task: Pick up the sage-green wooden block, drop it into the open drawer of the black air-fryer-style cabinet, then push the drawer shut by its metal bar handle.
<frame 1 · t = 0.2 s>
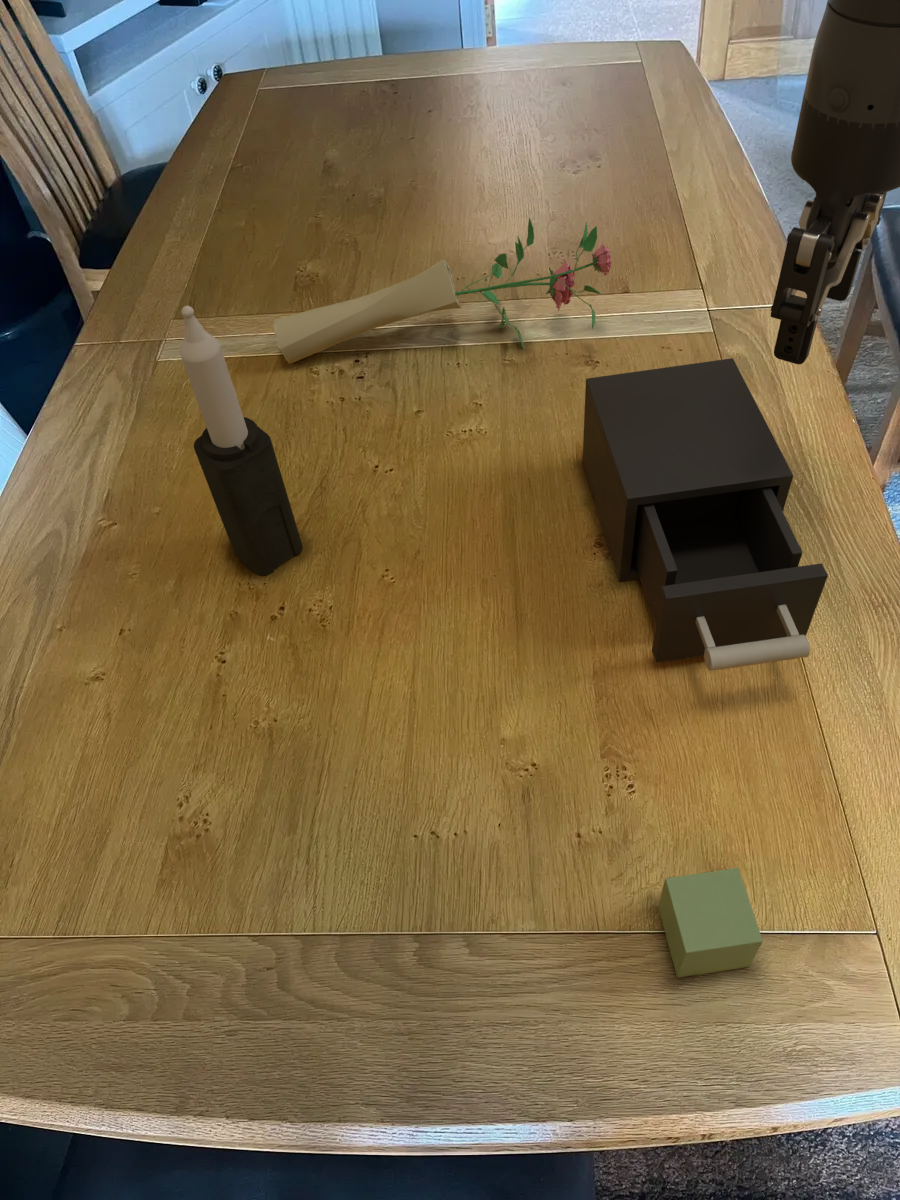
hand: (811, 326, 67), 19 cm above the table, tool pointing down, fingers open, 8 cm apart
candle: (268, 551, 84), on the table
block: (702, 935, 60), on the table
cabinet: (670, 509, 83), on the table
drawer: (719, 574, 72), point 5 cm above the table, slide at 8.0 cm
flower vase: (443, 343, 101), on the table
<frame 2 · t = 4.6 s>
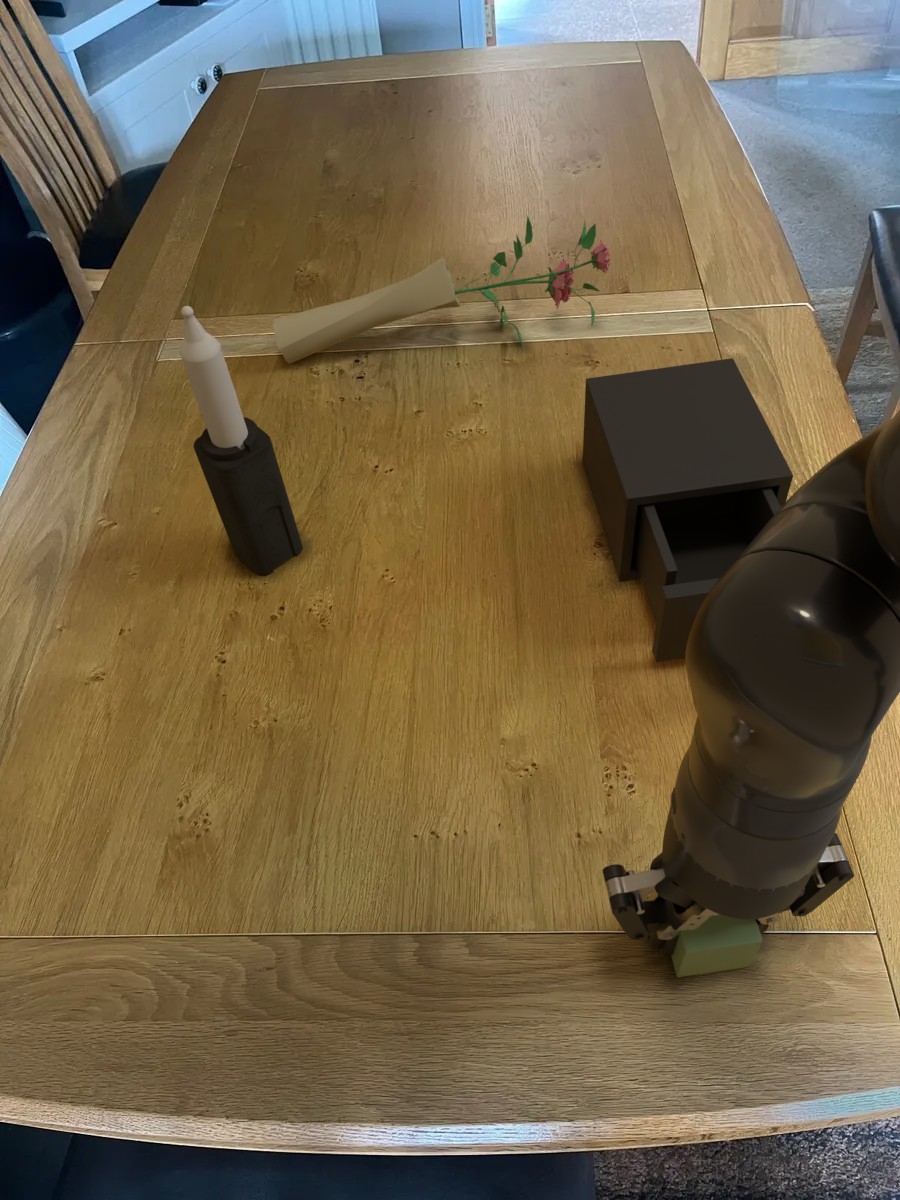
hand: (703, 933, 59), 0 cm above the table, tool pointing down, fingers closed on block, 4 cm apart
block: (702, 935, 60), on the table, touching gripper
everything else where it was.
when the fingers open (8 cm above the table, at t = 11.2 s): block drops 6 cm, resting on drawer.
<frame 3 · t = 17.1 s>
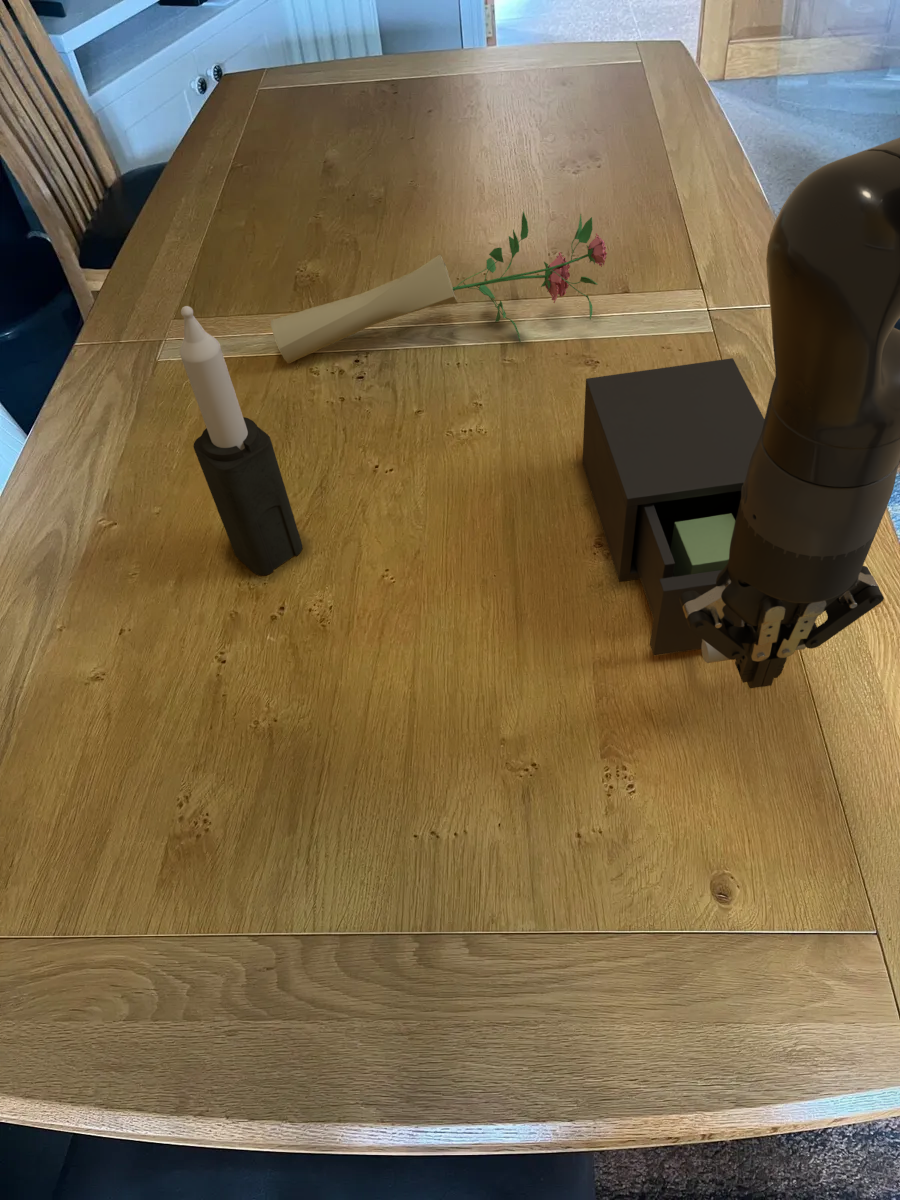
hand: (755, 676, 66), 5 cm above the table, tool pointing down, fingers closed
block: (704, 577, 75), point 2 cm above the table, touching drawer
drawer: (716, 567, 72), point 5 cm above the table, slide at 7.3 cm, touching block, gripper
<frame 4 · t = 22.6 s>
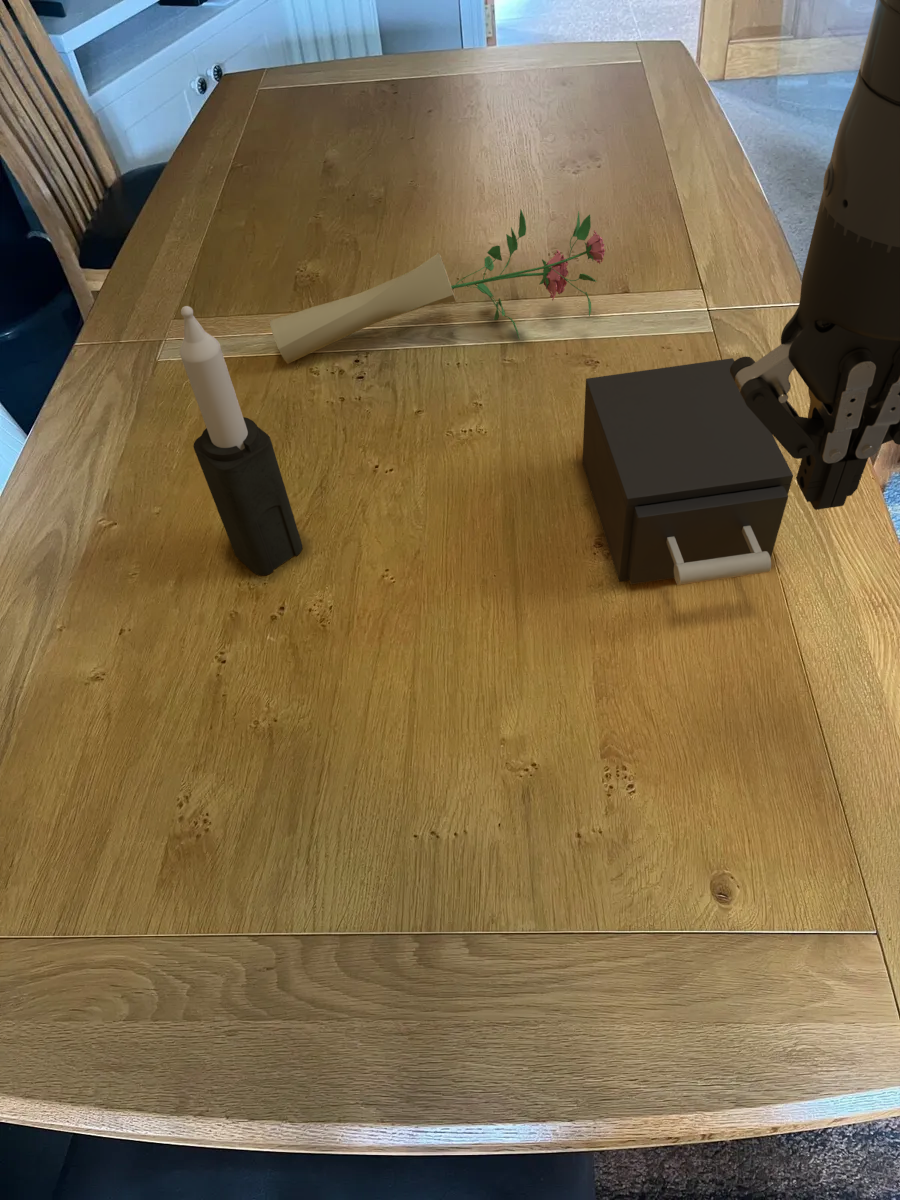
hand: (822, 497, 51), 23 cm above the table, tool pointing down, fingers closed
block: (679, 512, 80), point 2 cm above the table, touching drawer
drawer: (690, 501, 77), point 5 cm above the table, slide at 0.0 cm, touching block, cabinet
at the end: block inside the target area in the cabinet (2.5 cm from its centre), point 2.1 cm above the cabinet's base; drawer slide at 0.0 cm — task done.
